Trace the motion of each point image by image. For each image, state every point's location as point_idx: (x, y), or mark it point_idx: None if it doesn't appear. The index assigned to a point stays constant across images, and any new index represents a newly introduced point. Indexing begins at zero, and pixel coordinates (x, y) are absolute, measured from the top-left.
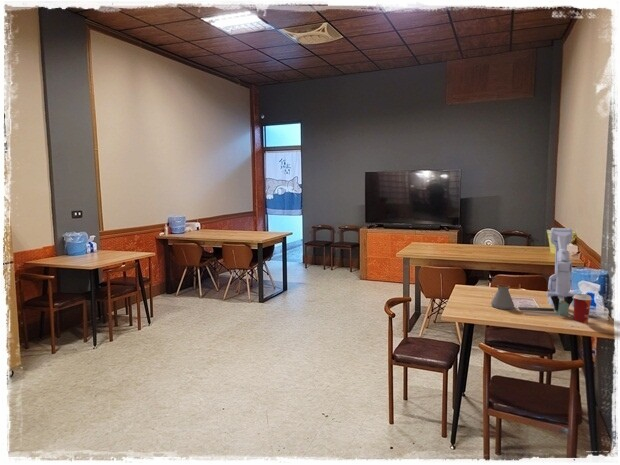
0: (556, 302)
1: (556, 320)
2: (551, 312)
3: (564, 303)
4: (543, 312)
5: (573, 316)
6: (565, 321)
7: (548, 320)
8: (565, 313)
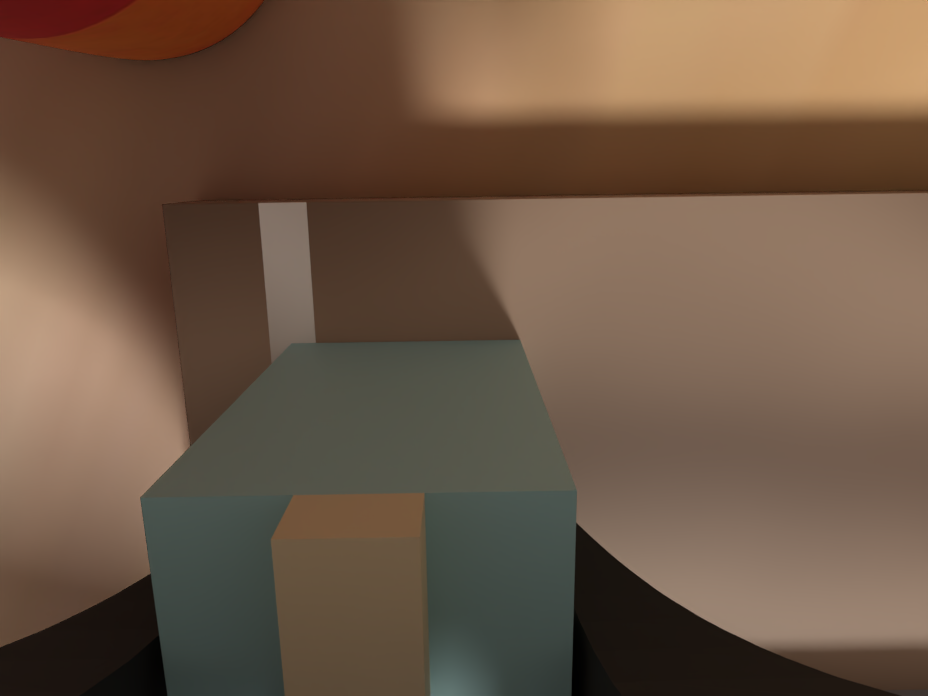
0: (702, 640)
1: (684, 92)
2: (633, 556)
3: (364, 503)
4: (851, 526)
5: (172, 263)
6: (479, 31)
7: (904, 58)
8: (358, 354)
